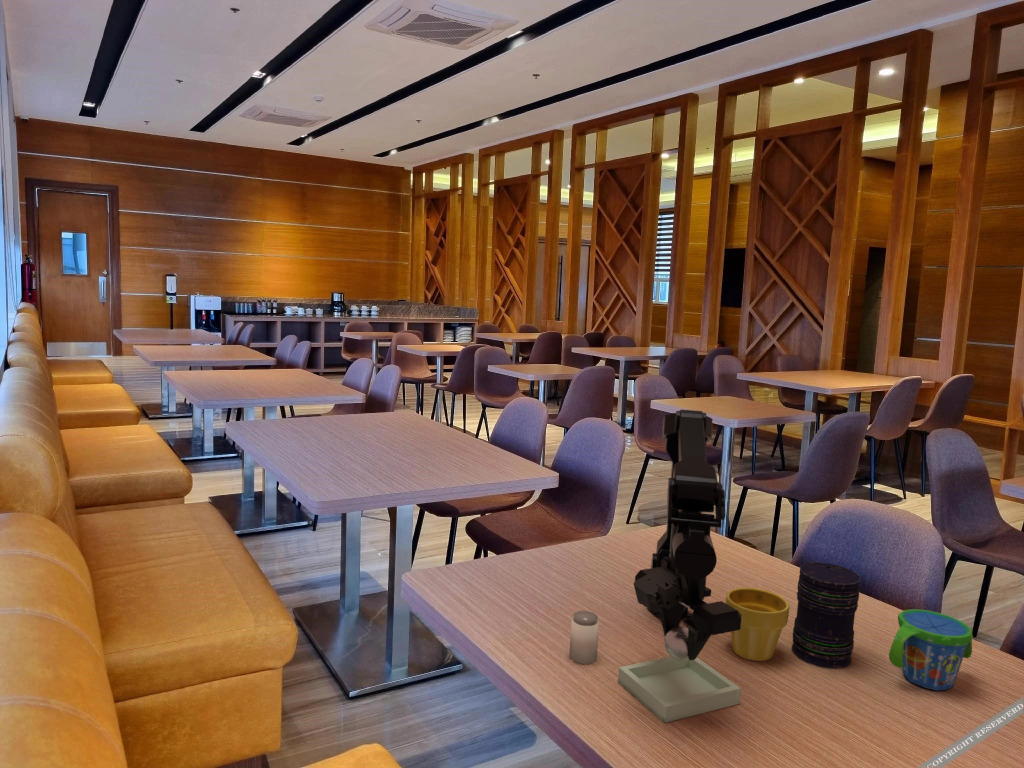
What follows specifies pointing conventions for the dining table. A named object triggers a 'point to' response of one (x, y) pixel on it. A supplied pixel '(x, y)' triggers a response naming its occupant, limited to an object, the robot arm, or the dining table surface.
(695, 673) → the tray
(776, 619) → the plant pot
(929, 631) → the snack cup
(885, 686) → the dining table surface
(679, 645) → the ball
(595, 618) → the shaker
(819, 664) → the storage jar
